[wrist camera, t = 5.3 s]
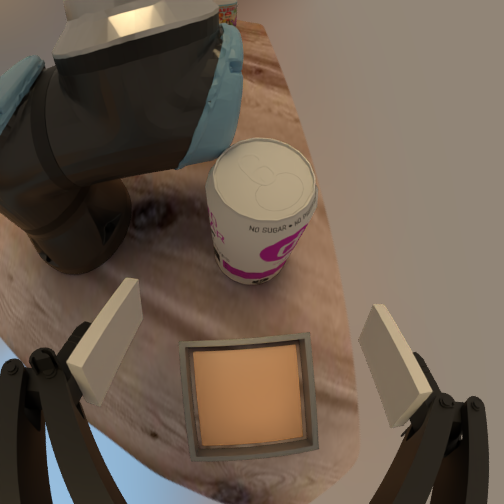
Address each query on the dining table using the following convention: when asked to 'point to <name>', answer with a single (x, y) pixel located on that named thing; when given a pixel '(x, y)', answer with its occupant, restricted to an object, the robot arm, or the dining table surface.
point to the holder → (249, 398)
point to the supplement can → (258, 207)
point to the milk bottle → (227, 11)
